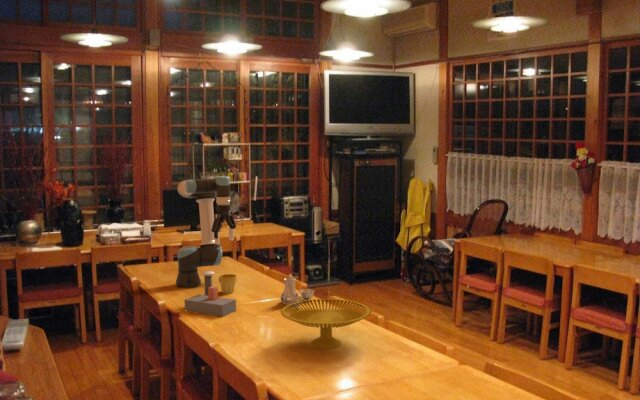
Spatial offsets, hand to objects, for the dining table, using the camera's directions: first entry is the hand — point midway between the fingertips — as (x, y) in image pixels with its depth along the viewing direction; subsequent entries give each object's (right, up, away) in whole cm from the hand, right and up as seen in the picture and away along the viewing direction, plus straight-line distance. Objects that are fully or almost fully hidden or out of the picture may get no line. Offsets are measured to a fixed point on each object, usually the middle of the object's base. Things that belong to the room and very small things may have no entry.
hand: (224, 242), depth 364 cm
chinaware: (+40, -33, -8) cm, 52 cm away
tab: (-3, -34, -20) cm, 40 cm away
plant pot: (0, -30, +16) cm, 34 cm away
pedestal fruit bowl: (+56, -40, -74) cm, 101 cm away
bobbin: (-8, -33, -7) cm, 34 cm away
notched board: (-4, -35, -22) cm, 41 cm away
